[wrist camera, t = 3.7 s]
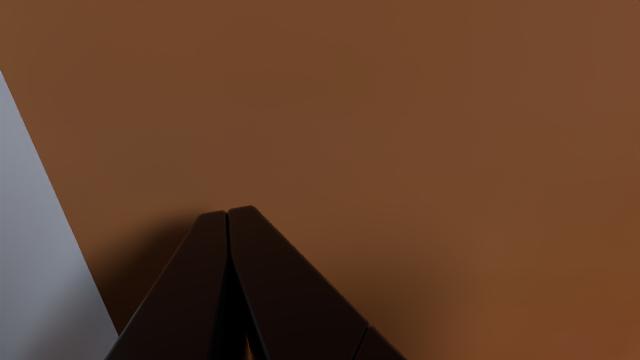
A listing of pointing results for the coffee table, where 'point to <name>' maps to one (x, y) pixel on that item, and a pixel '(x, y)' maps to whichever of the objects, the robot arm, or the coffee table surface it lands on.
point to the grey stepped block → (41, 261)
